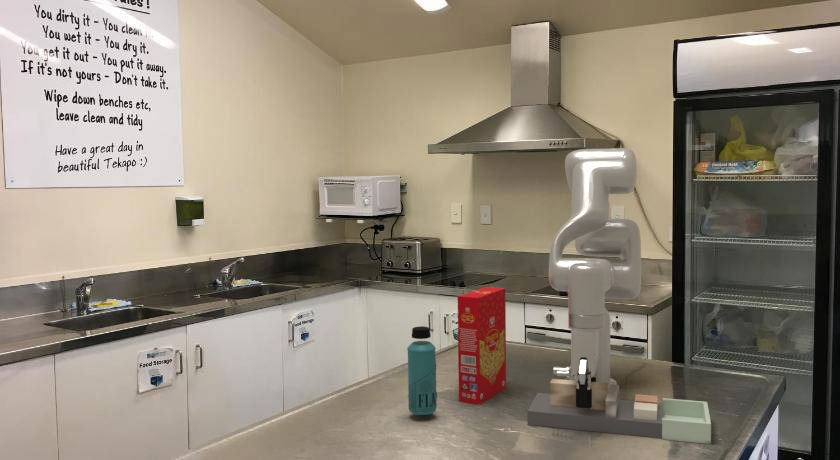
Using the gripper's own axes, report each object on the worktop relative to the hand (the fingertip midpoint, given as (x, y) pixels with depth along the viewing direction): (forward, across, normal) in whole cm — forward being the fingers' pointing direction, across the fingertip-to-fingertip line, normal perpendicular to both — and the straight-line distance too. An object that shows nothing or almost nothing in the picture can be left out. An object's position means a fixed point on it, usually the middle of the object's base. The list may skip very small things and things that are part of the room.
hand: (586, 400), depth 152 cm
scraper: (+1, 0, 0) cm, 1 cm away
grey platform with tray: (+4, 0, +6) cm, 8 cm away
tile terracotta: (+1, -3, +12) cm, 13 cm away
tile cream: (+1, +3, +12) cm, 13 cm away
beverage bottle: (+5, +8, -34) cm, 36 cm away
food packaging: (+4, -11, -26) cm, 28 cm away
